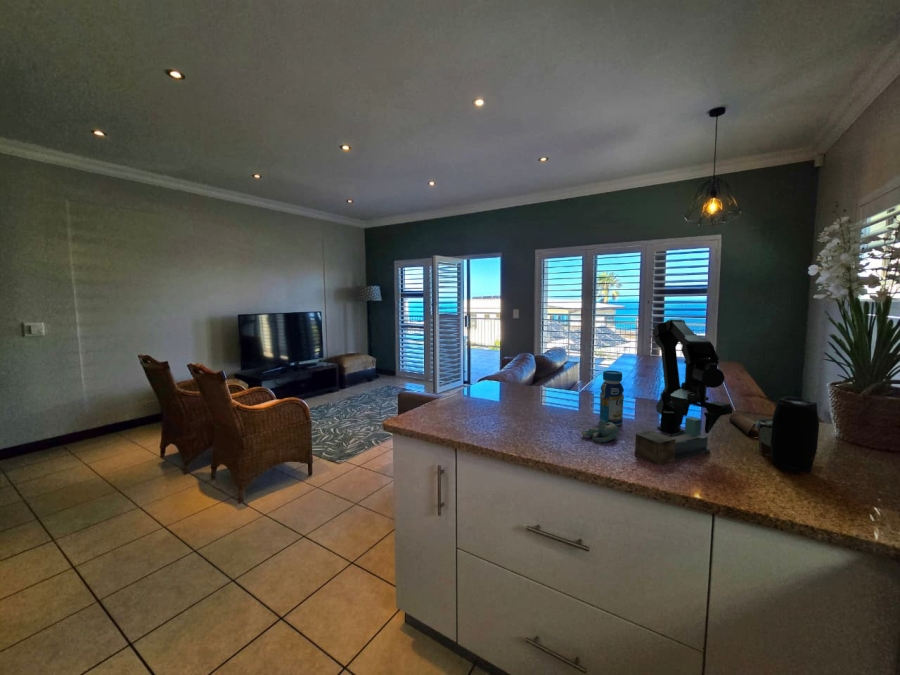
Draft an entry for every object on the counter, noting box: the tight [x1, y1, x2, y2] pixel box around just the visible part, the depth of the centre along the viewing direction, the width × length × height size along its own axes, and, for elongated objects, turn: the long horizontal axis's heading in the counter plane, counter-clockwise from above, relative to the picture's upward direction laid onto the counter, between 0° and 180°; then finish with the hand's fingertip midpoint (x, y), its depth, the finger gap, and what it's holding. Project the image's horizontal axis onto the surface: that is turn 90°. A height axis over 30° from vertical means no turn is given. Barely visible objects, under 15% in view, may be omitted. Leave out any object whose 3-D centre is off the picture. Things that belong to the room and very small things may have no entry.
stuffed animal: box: [581, 418, 619, 443], centre depth 124 cm, size 11×7×12 cm
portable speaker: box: [771, 396, 820, 475], centre depth 99 cm, size 9×9×20 cm
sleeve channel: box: [666, 431, 711, 462], centre depth 112 cm, size 16×8×4 cm, turn 113°
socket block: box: [634, 430, 676, 466], centre depth 107 cm, size 7×8×7 cm
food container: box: [755, 417, 773, 456], centre depth 111 cm, size 12×6×10 cm, turn 71°
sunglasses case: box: [728, 413, 759, 439], centre depth 130 cm, size 18×7×7 cm, turn 160°
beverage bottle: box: [599, 370, 625, 426], centre depth 139 cm, size 8×8×20 cm
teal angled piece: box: [671, 416, 702, 443], centre depth 112 cm, size 13×4×8 cm, turn 113°
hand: (692, 428), depth 114 cm, fingers open, 8 cm apart
